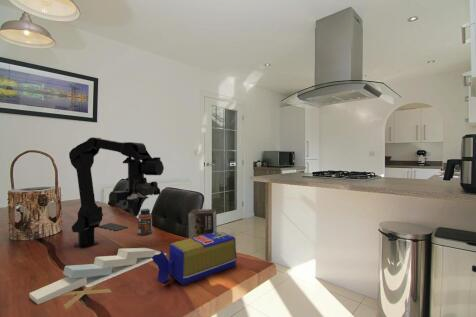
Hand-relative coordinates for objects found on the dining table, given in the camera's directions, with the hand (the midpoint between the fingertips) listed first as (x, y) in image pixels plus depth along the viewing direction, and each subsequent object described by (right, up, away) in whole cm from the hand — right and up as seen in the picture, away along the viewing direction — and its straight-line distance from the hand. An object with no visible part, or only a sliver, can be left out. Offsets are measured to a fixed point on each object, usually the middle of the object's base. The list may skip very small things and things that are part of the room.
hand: (136, 215), depth 96 cm
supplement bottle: (-4, -13, +19) cm, 24 cm away
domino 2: (0, -11, -21) cm, 24 cm away
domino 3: (+4, -11, -14) cm, 18 cm away
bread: (+27, -13, -20) cm, 36 cm away
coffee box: (+27, -13, -7) cm, 31 cm away
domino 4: (+8, -11, -8) cm, 16 cm away
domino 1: (-4, -11, -27) cm, 29 cm away
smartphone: (-24, -14, +30) cm, 41 cm away
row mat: (+3, -13, -16) cm, 21 cm away
